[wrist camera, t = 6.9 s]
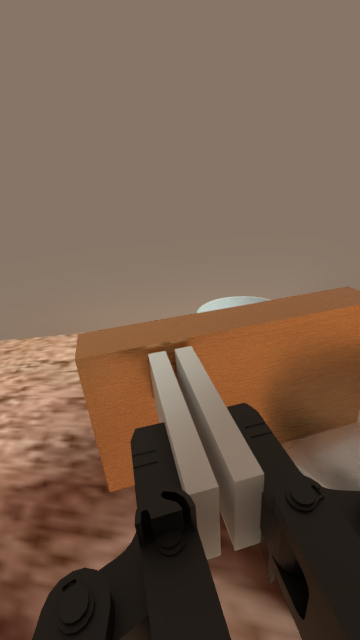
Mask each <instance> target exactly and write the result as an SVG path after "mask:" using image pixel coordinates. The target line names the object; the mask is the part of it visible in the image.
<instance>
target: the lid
mask: <svg viewBox="0 0 360 640" xmlns="http://www.w3.org/2000/svg"><path fill="white" fill-rule="evenodd" d="M189 346H192V348H193V350H194V351H195V353H196V355H197V357H198V358H199V360H200V362H201V364H202V365H203V367H204V369H205V371H206V372H207V374H208V376H209V378H210V379H211V381H212V383H213V385H214V386H215V388H216V390H217V392H218V393H219V395H220V397H221V399H222V400H223V402H224V404H225V406H226V407H228V406H233V405H237V404H241V403H247V404H248V405H250V406H251V407H253V408H254V409H255V410H257V411H258V412H259V414H260V415H261V417H262V418H263V419H264V421H265V423H266V424H267V425H268V427H269V428H270V429H271V431H272V434H274V435H275V437H276V438H277V439H278V441H279V442H280V444H281V445H282V446H283V448H284V449H285V451H286V452H287V454H288V455H289V456H290V458H291V459H292V461H293V462H294V464H295V465H296V466H297V468H298V469H299V470H300V472H301V473H302V474H303V475H304V476H307V477H309V478H311V479H313V480H314V481H316V482H318V483H319V484H320V485H321V486H322V487H325V488H328V489H334V490H348V491H360V291H358V290H355V289H353V288H350V287H343V288H337V289H333V290H326V291H321V292H315V293H309V294H303V295H298V296H292V297H286V298H281V299H276V300H269V301H264V302H258V303H252V304H246V305H241V306H235V307H229V308H224V309H218V310H212V311H207V312H201V313H195V314H190V315H184V316H178V317H173V318H167V319H162V320H156V321H150V322H144V323H139V324H133V325H127V326H121V327H116V328H111V329H104V330H99V331H93V332H87V333H82V334H78V339H77V347H76V355H75V362H76V365H77V369H78V373H79V377H80V381H81V385H82V388H83V392H84V396H85V400H86V404H87V408H88V411H89V415H90V419H91V423H92V427H93V431H94V434H95V438H96V442H97V446H98V450H99V454H100V457H101V461H102V465H103V469H104V473H105V477H106V480H107V484H108V488H109V492H113V491H116V490H120V489H123V488H127V487H130V486H134V485H135V482H134V473H133V463H132V454H131V445H130V441H131V438H132V436H133V433H134V430H135V429H136V428H141V427H145V426H149V425H154V424H158V423H159V419H158V415H157V411H156V407H155V401H154V394H153V387H152V380H151V372H150V365H149V358H148V354H151V353H157V352H162V351H166V353H167V356H168V359H169V361H170V364H171V366H172V369H173V371H174V374H175V376H176V379H177V370H176V360H175V349H178V348H184V347H189ZM177 382H178V380H177Z"/></svg>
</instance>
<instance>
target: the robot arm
mask: <svg viewBox="0 0 360 640" xmlns="http://www.w3.org/2000/svg"><path fill="white" fill-rule="evenodd" d="M148 358H149V365H150V372H151V380H152V387H153V394H154V401H155V407H156V411H157V415H158V419H159V423H158V424H154V425H149V426H145V427H141V428H136V429H135V430H134V433H133V436H132V438H131V441H130V445H131V454H132V463H133V473H134V482H135V491H136V500H137V510H136V515H135V527H136V534H135V536H134V538H133V540H132V542H131V543H130V545H129V546H128V547H127V549H126V550H125V551H124V552H123V553H122V554H121V555H119V556H118V557H117V558H116V559H114V560H113V561H112V562H110V563H109V564H107V565H106V566H104V567H103V568H102V569H100V570H99V571H97V570H94V569H89V568H83V569H79V570H76V571H72V572H71V573H70V574H68V575H67V576H65V577H64V578H63V579H61V580H60V581H59V582H58V583H57V585H56V586H55V587H54V588H53V590H52V591H51V592H50V593H49V595H48V597H47V599H46V602H45V604H44V606H43V608H42V610H41V613H40V616H39V620H38V623H37V626H36V629H35V632H34V636H33V639H32V640H231V638H230V634H229V631H228V628H227V624H226V621H225V618H224V615H223V611H222V608H221V605H220V601H219V598H218V595H217V592H216V588H215V585H214V582H213V578H212V575H211V572H210V568H209V565H208V562H207V560H208V559H212V558H215V557H218V556H221V542H220V512H221V515H222V518H223V520H224V523H225V526H226V529H227V531H228V534H229V537H230V540H231V542H232V545H233V548H234V550H235V551H237V550H240V549H243V548H246V547H249V546H252V545H255V544H258V543H260V542H261V532H262V534H263V536H264V538H265V540H266V542H267V544H268V547H269V561H268V577H269V581H270V583H273V582H274V577H276V579H277V581H278V584H279V586H280V588H281V591H282V593H283V595H284V598H285V600H286V602H287V605H288V607H289V609H290V612H291V614H292V616H293V619H294V621H295V624H296V626H297V628H298V631H299V633H300V635H301V638H302V640H360V491H348V490H334V489H328V488H325V487H322V486H321V485H320V484H319V483H318V482H316V481H314V480H313V479H311V478H309V477H307V476H304V475H303V474H302V473H301V472H300V470H299V469H298V468H297V466H296V465H295V464H294V462H293V461H292V459H291V458H290V456H289V455H288V454H287V452H286V451H285V449H284V448H283V446H282V445H281V444H280V442H279V441H278V439H277V438H276V437H275V435H274V434H272V431H271V429H270V428H269V427H268V425H267V424H266V423H265V421H264V419H263V418H262V417H261V415H260V414H259V412H258V411H257V410H255V409H254V408H253V407H251V406H250V405H248V404H247V403H241V404H237V405H233V406H228V407H226V406H225V404H224V402H223V400H222V399H221V397H220V395H219V393H218V392H217V390H216V388H215V386H214V385H213V383H212V381H211V379H210V378H209V376H208V374H207V372H206V371H205V369H204V367H203V365H202V364H201V362H200V360H199V358H198V357H197V355H196V353H195V351H194V350H193V348H192V346H189V347H184V348H178V349H175V360H176V370H177V379H176V376H175V374H174V371H173V369H172V366H171V364H170V361H169V359H168V356H167V353H166V351H162V352H157V353H151V354H148ZM177 380H178V382H177ZM219 509H220V512H219Z"/></svg>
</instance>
